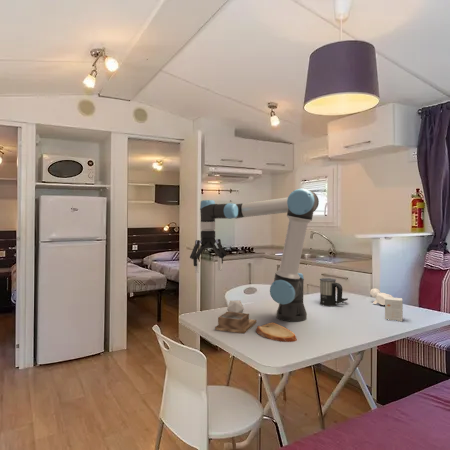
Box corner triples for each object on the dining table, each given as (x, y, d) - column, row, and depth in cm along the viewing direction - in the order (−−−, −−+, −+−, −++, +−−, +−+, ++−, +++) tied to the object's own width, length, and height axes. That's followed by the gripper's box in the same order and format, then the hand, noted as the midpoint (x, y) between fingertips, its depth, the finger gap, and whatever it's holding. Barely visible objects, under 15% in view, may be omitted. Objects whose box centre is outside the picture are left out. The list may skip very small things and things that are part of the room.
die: (238, 321, 184) (248, 303, 187) (222, 311, 186) (233, 294, 189) (237, 322, 193) (247, 306, 195) (222, 313, 194) (232, 297, 197)
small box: (402, 319, 187) (402, 298, 187) (402, 321, 182) (402, 300, 182) (385, 317, 191) (385, 296, 190) (384, 319, 185) (385, 298, 185)
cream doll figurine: (394, 311, 214) (374, 296, 227) (399, 298, 211) (378, 284, 224) (383, 312, 210) (364, 298, 222) (388, 300, 207) (368, 286, 219)
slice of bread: (297, 343, 152) (297, 334, 152) (253, 340, 155) (253, 331, 155) (296, 330, 170) (296, 321, 170) (257, 327, 173) (257, 319, 173)
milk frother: (317, 305, 216) (317, 279, 215) (326, 299, 229) (326, 275, 228) (341, 308, 208) (341, 282, 207) (349, 303, 221) (350, 278, 220)
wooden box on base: (256, 322, 180) (256, 310, 180) (244, 333, 164) (244, 320, 164) (229, 319, 186) (229, 307, 185) (215, 329, 169) (215, 317, 169)
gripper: (224, 229, 202) (224, 268, 203) (182, 230, 189) (183, 272, 189) (232, 229, 196) (232, 270, 196) (189, 231, 182) (190, 274, 183)
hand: (208, 271), depth 193 cm, fingers open, 13 cm apart
